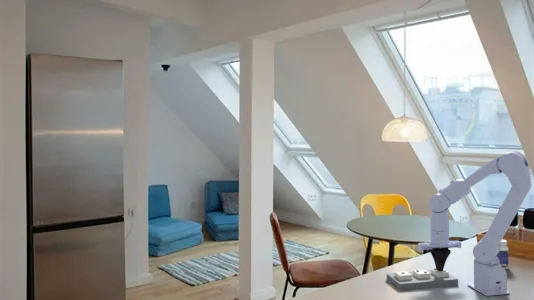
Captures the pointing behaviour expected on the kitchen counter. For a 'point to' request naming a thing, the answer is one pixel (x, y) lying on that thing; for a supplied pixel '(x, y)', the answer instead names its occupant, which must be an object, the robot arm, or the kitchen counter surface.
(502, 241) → the pill bottle
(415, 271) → the tile two
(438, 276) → the tile three
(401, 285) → the button board
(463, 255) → the kitchen counter surface
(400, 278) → the tile one
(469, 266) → the kitchen counter surface
